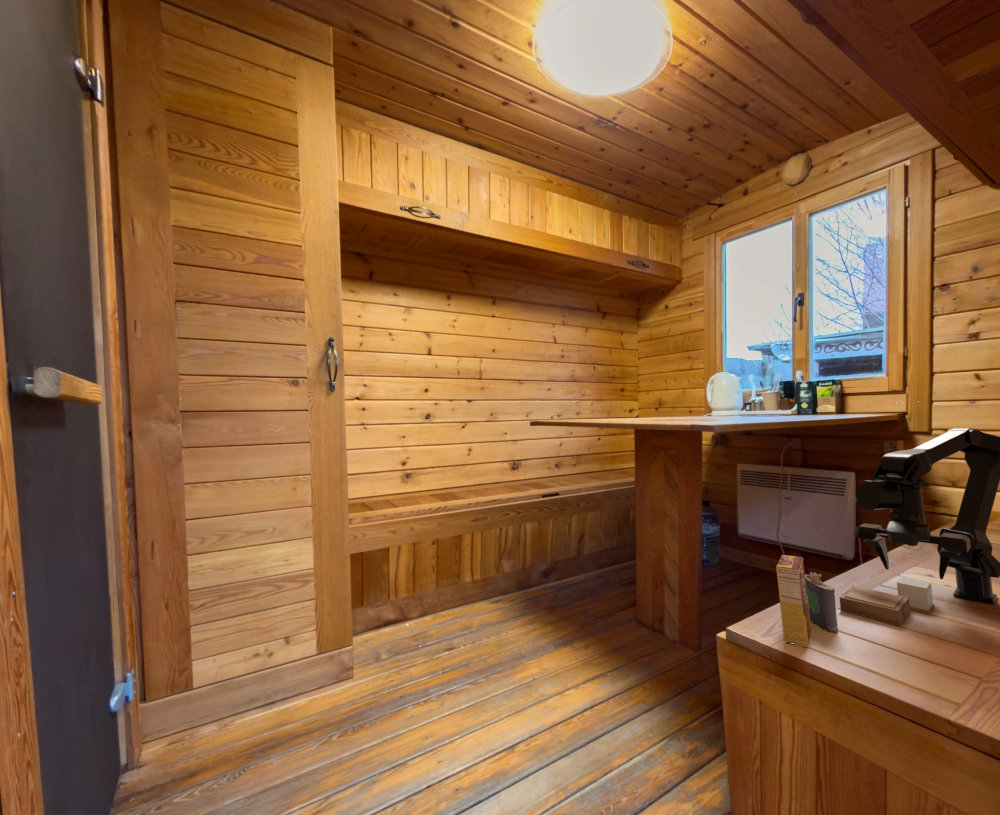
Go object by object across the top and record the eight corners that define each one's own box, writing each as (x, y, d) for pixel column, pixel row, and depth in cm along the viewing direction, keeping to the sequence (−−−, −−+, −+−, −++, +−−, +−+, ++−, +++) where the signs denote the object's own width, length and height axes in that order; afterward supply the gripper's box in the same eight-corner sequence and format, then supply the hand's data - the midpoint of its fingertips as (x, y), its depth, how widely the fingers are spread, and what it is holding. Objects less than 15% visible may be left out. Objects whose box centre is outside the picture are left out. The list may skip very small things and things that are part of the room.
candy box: (787, 625, 91) (781, 554, 92) (811, 630, 89) (805, 557, 89) (781, 642, 84) (775, 565, 85) (808, 648, 82) (801, 569, 82)
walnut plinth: (853, 598, 103) (852, 584, 103) (910, 611, 95) (908, 596, 95) (840, 610, 97) (839, 596, 97) (899, 625, 89) (897, 609, 89)
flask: (841, 633, 87) (836, 580, 87) (825, 633, 87) (820, 580, 88) (814, 613, 96) (810, 566, 96) (800, 613, 96) (796, 566, 97)
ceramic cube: (903, 598, 102) (901, 577, 102) (933, 604, 98) (930, 582, 98) (898, 604, 99) (896, 582, 99) (928, 610, 95) (926, 588, 95)
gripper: (846, 507, 102) (852, 572, 101) (959, 518, 87) (967, 594, 86) (860, 500, 109) (865, 561, 108) (967, 509, 94) (974, 580, 93)
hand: (913, 573), depth 98 cm, fingers open, 9 cm apart
